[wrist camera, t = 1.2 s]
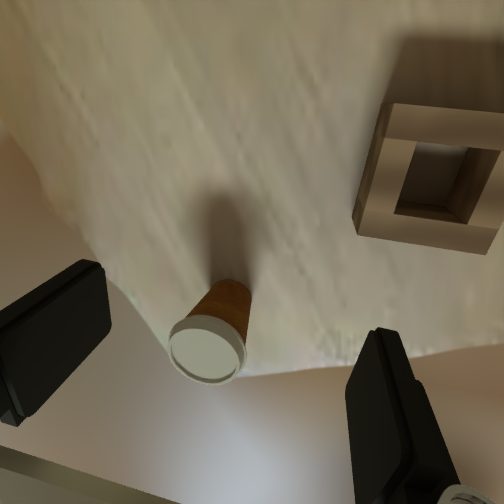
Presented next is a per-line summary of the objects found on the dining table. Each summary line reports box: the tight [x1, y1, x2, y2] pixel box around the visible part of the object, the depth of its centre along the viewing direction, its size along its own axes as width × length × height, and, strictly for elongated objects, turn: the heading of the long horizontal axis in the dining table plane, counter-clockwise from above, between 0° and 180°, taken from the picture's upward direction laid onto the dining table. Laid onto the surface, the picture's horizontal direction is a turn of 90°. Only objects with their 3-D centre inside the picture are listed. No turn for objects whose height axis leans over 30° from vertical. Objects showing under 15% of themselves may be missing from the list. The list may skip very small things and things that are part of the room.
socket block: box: [352, 103, 504, 255], centre depth 28 cm, size 12×12×6 cm
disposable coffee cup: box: [167, 280, 251, 385], centre depth 38 cm, size 10×10×12 cm
